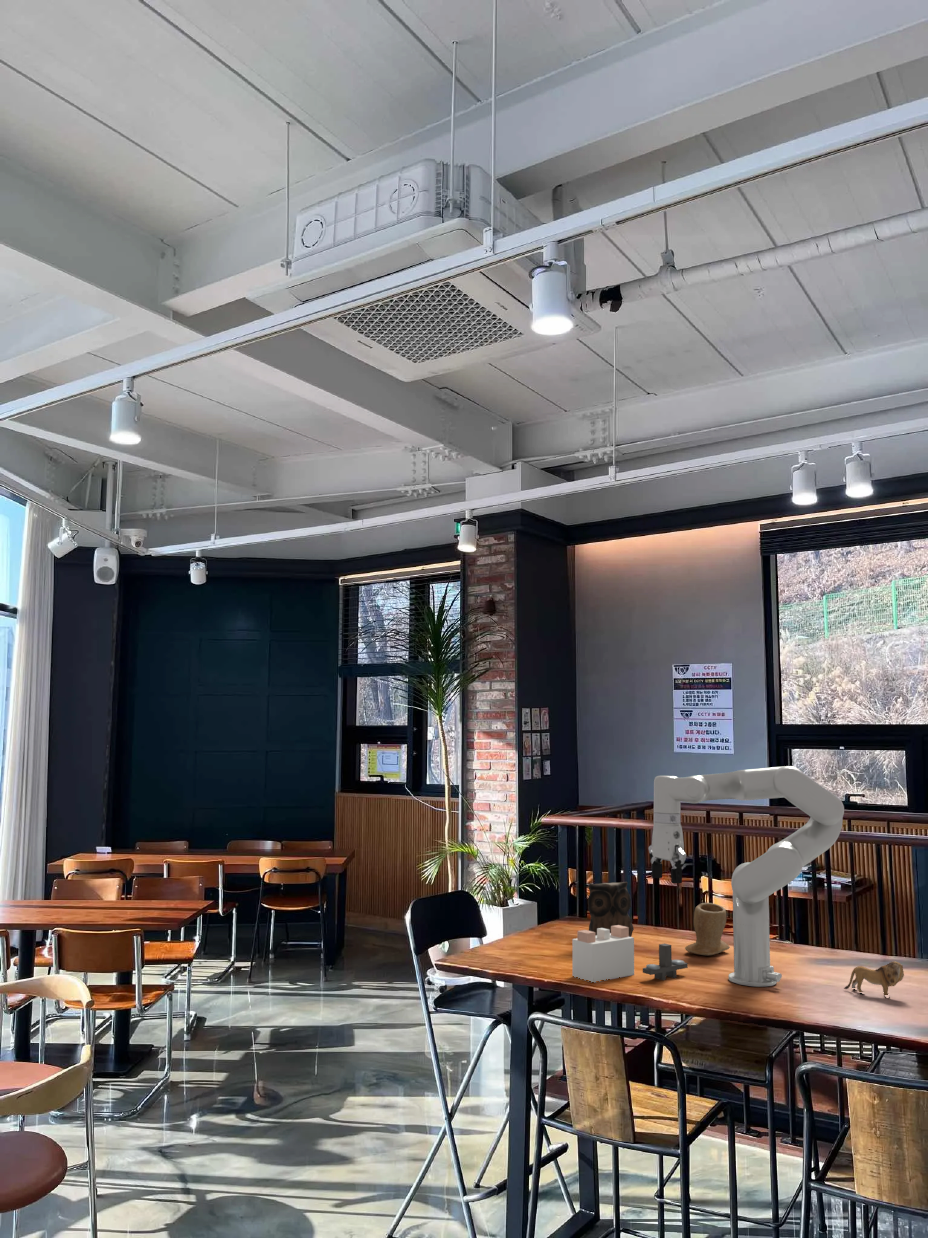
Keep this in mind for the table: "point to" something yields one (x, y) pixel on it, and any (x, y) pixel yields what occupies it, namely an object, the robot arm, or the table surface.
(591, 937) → the white toy brick
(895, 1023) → the table surface
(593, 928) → the owl
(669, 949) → the bar with two balls
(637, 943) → the table surface
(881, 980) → the lion figurine
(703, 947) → the stone cup
